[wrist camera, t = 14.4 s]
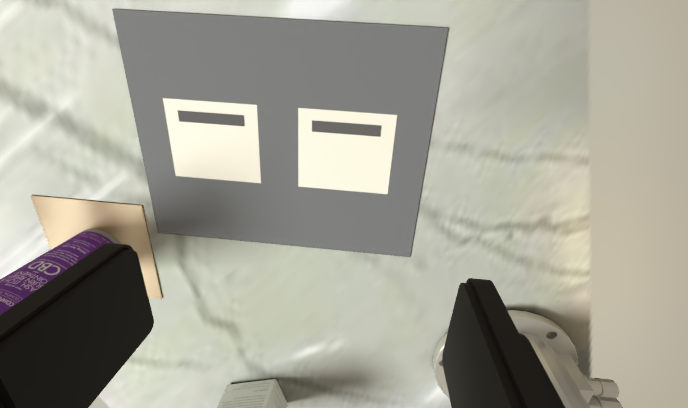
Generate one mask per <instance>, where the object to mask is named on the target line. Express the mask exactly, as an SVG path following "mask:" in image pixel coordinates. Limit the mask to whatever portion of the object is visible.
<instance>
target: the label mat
mask: <svg viewBox="0 0 688 408" xmlns="http://www.w3.org/2000/svg"><path fill="white" fill-rule="evenodd" d="M112 10H113V15H114V20H115V24H116V29H117V34H118V39H119V44H120V49H121V54H122V59H123V63H124V68H125V73H126V78H127V83H128V88H129V93H130V98H131V102H132V107H133V112H134V117H135V122H136V127H137V132H138V137H139V141H140V146H141V151H142V156H143V161H144V166H145V171H146V176H147V181H148V185H149V190H150V195H151V200H152V205H153V210H154V215H155V220H156V224H157V229H158V233H167V234H178V235H188V236H198V237H209V238H219V239H229V240H239V241H250V242H260V243H270V244H281V245H291V246H301V247H311V248H322V249H332V250H342V251H353V252H363V253H373V254H383V255H394V256H404V257H410V254H411V248H412V242H413V237H414V231H415V225H416V219H417V213H418V207H419V201H420V195H421V189H422V183H423V177H424V171H425V165H426V159H427V153H428V147H429V141H430V135H431V129H432V123H433V117H434V111H435V105H436V99H437V93H438V87H439V81H440V75H441V69H442V63H443V57H444V51H445V45H446V39H447V33H448V28H442V27H424V26H406V25H388V24H371V23H353V22H335V21H317V20H300V19H282V18H264V17H246V16H228V15H211V14H193V13H175V12H157V11H139V10H122V9H112Z"/></svg>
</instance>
